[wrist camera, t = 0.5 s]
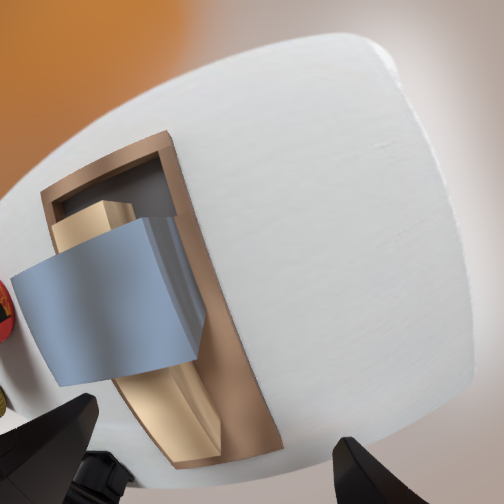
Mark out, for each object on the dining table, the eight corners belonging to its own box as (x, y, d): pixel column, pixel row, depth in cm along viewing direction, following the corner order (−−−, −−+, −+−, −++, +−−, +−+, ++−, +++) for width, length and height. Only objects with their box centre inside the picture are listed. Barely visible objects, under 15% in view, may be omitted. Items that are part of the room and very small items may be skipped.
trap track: (178, 457, 24) (169, 521, 14) (52, 193, 19) (-21, 187, 10) (280, 435, 24) (298, 503, 15) (171, 137, 20) (135, 85, 10)
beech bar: (180, 424, 21) (173, 462, 16) (87, 223, 18) (51, 225, 13) (220, 415, 21) (220, 455, 16) (131, 203, 18) (102, 200, 13)
